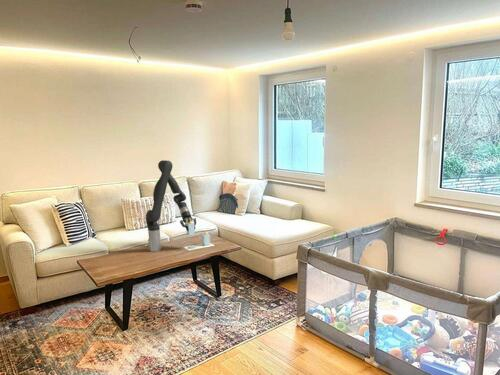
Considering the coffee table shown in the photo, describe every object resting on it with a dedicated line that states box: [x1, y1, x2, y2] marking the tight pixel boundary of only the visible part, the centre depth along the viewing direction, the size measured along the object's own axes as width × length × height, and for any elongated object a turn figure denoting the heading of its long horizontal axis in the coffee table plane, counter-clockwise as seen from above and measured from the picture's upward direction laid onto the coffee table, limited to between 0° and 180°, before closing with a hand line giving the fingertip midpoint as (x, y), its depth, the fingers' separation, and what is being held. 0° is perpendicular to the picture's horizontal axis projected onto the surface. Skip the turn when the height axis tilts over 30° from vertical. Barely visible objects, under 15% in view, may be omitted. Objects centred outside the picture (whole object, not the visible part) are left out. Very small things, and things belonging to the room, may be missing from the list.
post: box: [201, 232, 211, 246], centre depth 318 cm, size 5×5×10 cm
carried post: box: [186, 222, 196, 236], centre depth 310 cm, size 5×5×10 cm
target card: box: [183, 242, 215, 251], centre depth 315 cm, size 23×12×1 cm, turn 120°
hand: (191, 229), depth 308 cm, fingers closed on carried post, 5 cm apart
